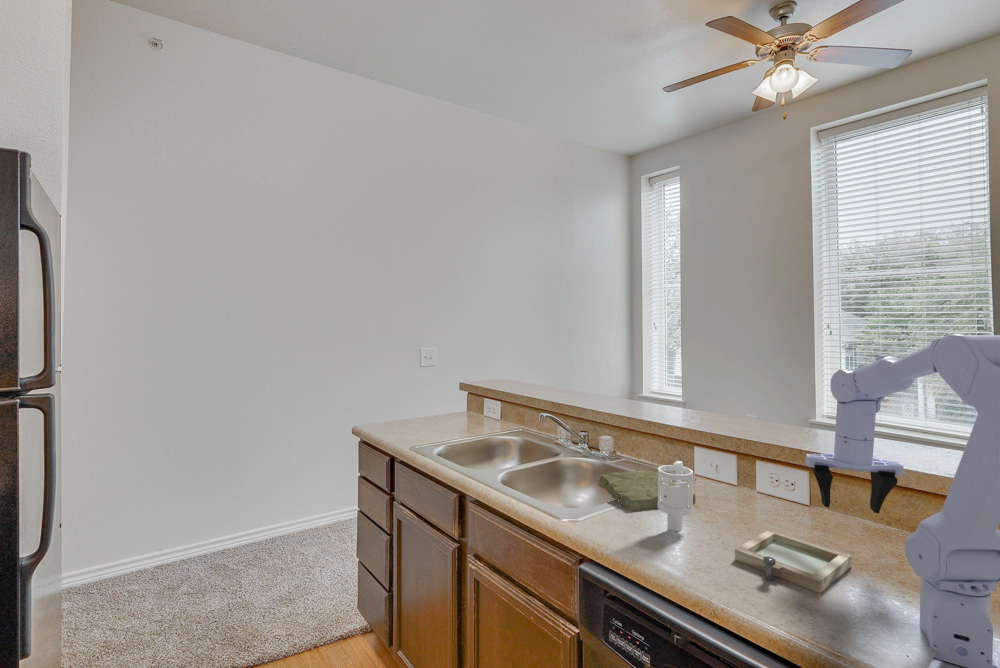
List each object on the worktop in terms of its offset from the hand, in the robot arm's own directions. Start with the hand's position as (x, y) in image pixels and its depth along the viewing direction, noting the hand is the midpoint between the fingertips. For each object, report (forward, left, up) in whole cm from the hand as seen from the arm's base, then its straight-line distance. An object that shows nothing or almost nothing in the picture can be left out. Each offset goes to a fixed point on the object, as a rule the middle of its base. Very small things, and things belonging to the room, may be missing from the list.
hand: (849, 507), depth 90 cm
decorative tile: (+16, +44, -12) cm, 48 cm away
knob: (-16, +11, -11) cm, 22 cm away
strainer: (-4, +30, -11) cm, 33 cm away
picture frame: (-8, +9, -10) cm, 15 cm away
